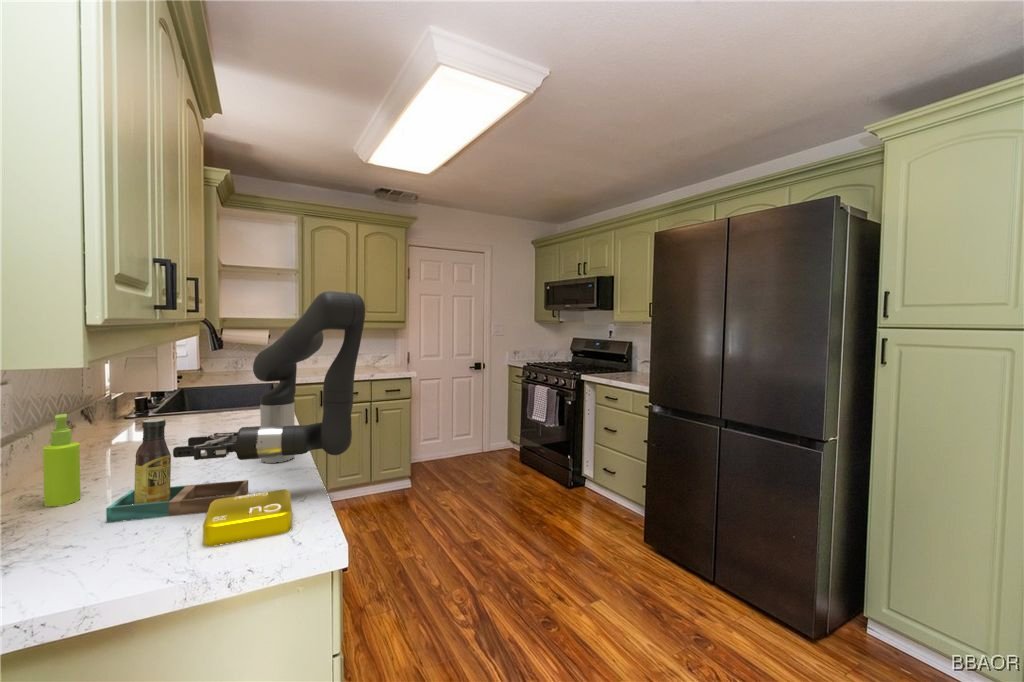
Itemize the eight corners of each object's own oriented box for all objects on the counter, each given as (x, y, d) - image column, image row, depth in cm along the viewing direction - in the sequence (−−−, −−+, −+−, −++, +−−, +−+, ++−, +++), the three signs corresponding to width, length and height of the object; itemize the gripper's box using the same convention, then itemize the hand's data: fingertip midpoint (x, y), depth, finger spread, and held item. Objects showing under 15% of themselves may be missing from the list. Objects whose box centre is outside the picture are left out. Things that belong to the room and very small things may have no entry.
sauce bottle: (150, 516, 96) (149, 424, 95) (126, 513, 97) (125, 422, 96) (178, 504, 102) (177, 418, 101) (155, 502, 103) (154, 416, 103)
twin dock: (131, 503, 102) (131, 490, 102) (248, 492, 110) (248, 480, 110) (106, 522, 92) (106, 508, 92) (237, 509, 100) (237, 495, 100)
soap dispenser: (80, 493, 107) (78, 411, 107) (80, 502, 102) (79, 415, 102) (45, 500, 103) (43, 414, 103) (43, 509, 98) (41, 419, 98)
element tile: (289, 506, 103) (289, 485, 103) (292, 533, 90) (292, 510, 89) (211, 519, 96) (211, 497, 96) (201, 550, 82) (201, 525, 82)
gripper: (268, 420, 112) (192, 423, 107) (255, 433, 99) (168, 438, 94) (268, 449, 113) (193, 454, 108) (255, 466, 99) (168, 473, 94)
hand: (181, 447), depth 101 cm, fingers open, 8 cm apart
